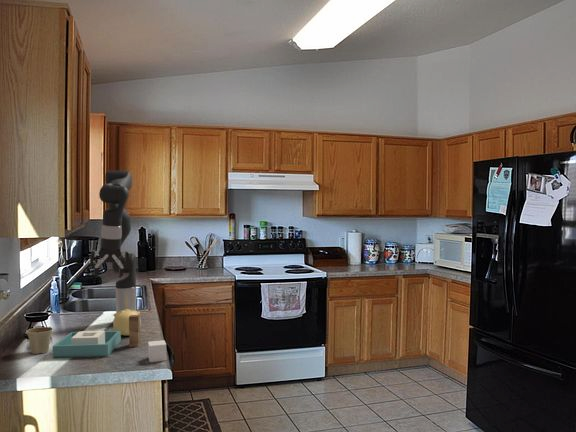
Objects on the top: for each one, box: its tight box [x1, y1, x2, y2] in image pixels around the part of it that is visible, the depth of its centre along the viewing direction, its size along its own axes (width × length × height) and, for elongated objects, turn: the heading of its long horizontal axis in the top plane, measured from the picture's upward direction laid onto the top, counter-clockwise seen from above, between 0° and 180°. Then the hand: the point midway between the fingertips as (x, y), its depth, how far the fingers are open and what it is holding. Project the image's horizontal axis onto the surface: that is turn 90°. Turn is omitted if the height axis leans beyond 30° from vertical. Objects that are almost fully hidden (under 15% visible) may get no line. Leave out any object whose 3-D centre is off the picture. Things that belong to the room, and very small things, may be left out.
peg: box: [128, 314, 141, 348], centre depth 206 cm, size 4×4×12 cm
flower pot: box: [25, 326, 54, 355], centre depth 198 cm, size 9×9×9 cm
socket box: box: [52, 330, 122, 359], centre depth 200 cm, size 20×20×6 cm
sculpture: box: [112, 309, 142, 336], centre depth 223 cm, size 12×12×11 cm
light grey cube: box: [147, 339, 167, 363], centre depth 188 cm, size 6×6×6 cm
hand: (108, 277), depth 199 cm, fingers open, 8 cm apart
